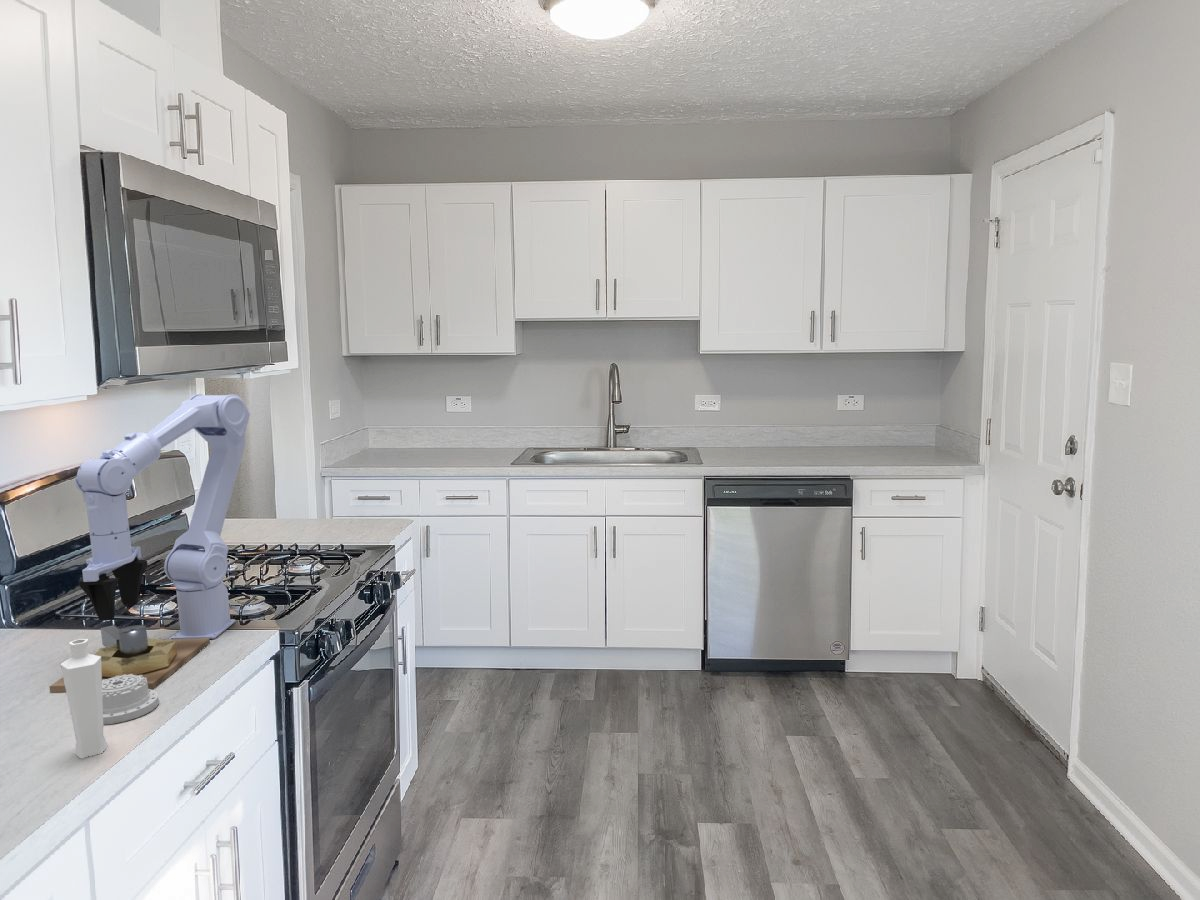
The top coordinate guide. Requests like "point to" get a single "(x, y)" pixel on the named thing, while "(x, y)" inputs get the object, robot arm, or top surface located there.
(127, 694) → the mechanical component
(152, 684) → the mount board
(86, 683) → the perfume bottle
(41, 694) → the top surface
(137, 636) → the steel pin
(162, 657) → the handled hexagon ring
